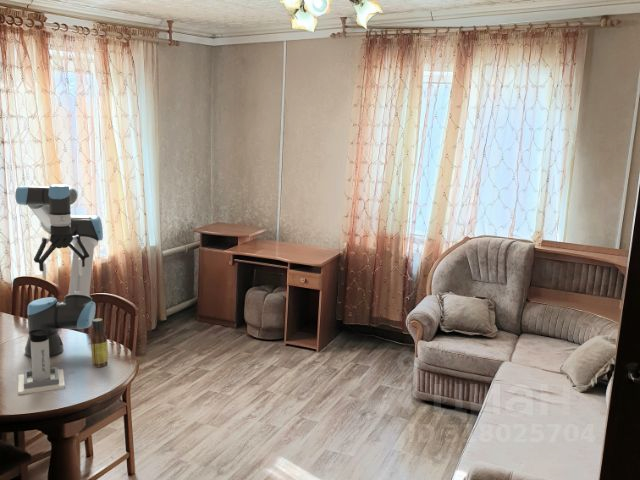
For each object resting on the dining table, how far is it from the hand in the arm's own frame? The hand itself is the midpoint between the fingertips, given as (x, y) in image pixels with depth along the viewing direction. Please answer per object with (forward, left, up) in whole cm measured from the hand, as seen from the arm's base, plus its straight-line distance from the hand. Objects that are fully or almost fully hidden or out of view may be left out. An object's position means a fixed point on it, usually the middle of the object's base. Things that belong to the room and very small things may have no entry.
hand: (62, 277), depth 237 cm
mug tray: (+4, -14, -39) cm, 41 cm away
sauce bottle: (+8, +10, -39) cm, 41 cm away
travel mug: (+4, -14, -38) cm, 41 cm away
